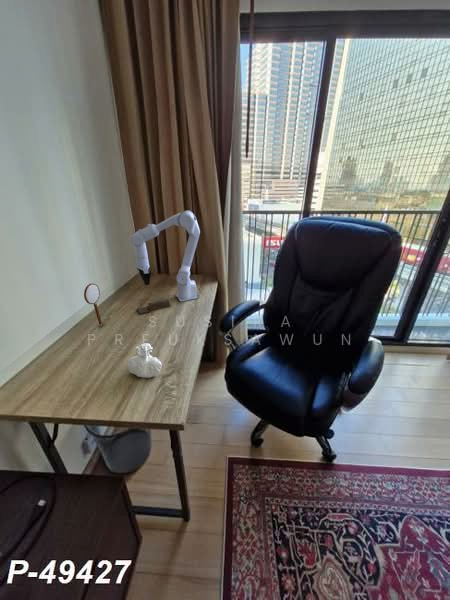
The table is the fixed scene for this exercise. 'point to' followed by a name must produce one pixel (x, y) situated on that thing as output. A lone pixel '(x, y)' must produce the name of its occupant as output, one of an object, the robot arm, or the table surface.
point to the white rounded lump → (144, 362)
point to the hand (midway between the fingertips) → (145, 282)
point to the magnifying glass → (93, 298)
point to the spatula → (154, 306)
